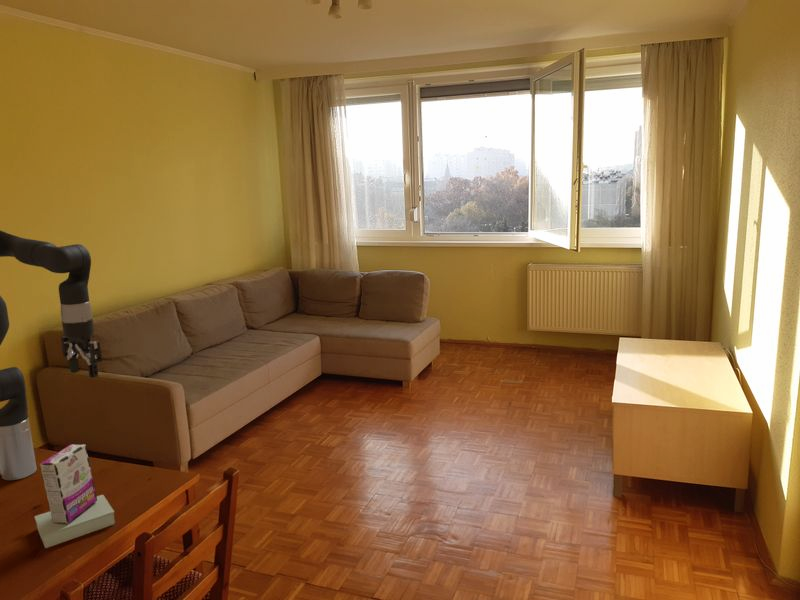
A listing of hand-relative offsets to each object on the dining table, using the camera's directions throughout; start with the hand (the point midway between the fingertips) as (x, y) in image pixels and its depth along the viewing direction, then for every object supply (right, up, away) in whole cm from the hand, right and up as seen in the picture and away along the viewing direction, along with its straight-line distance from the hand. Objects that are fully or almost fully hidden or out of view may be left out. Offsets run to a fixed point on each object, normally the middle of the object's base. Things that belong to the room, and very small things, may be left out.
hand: (84, 374), depth 172 cm
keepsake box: (+4, -38, -13) cm, 41 cm away
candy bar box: (+4, -34, -13) cm, 37 cm away
